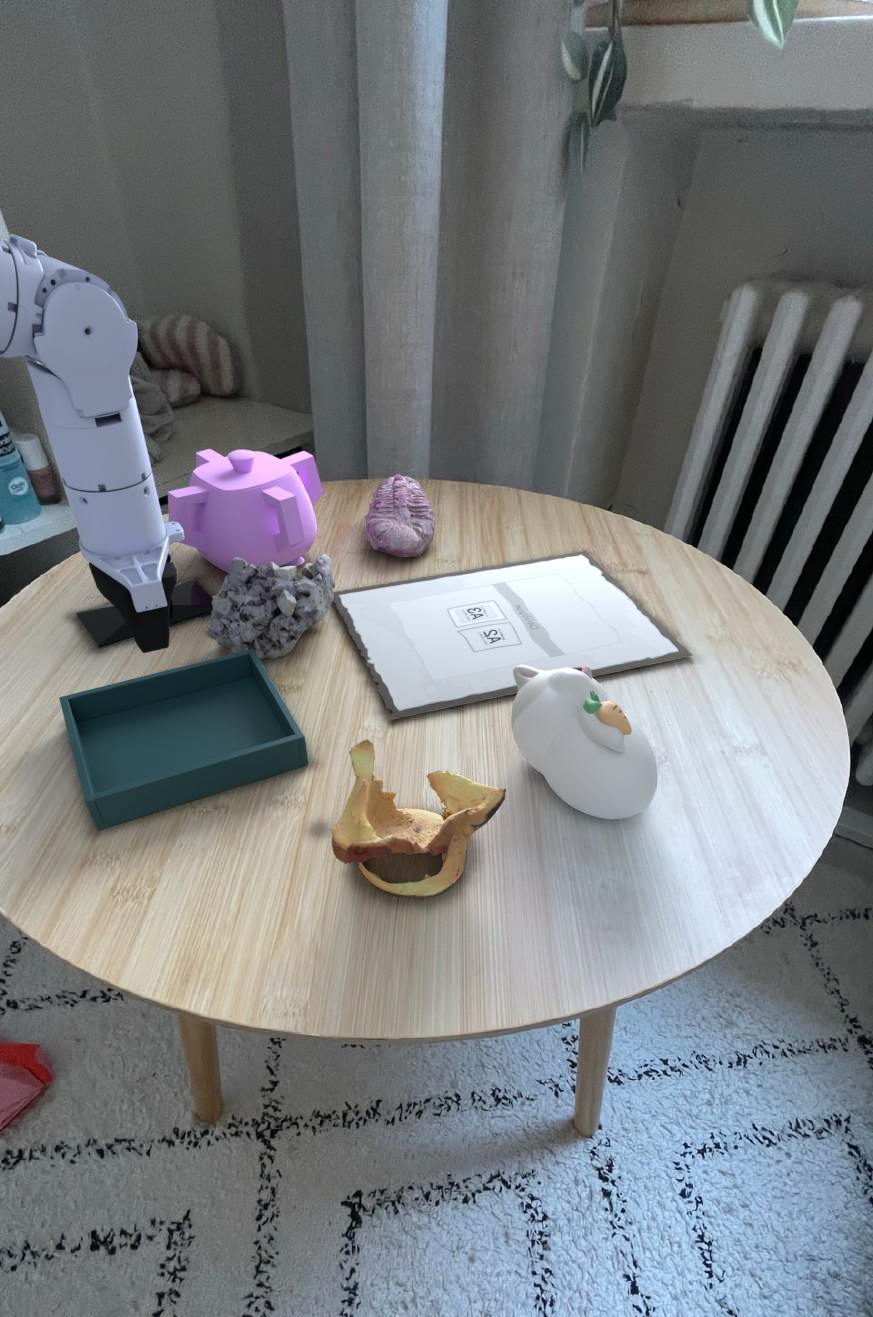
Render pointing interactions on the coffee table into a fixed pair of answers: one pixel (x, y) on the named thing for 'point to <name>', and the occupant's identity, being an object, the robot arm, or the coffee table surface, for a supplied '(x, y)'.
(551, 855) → the coffee table surface
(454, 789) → the bone
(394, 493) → the fossil
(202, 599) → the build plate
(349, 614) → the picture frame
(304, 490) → the pot
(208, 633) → the mineral specimen
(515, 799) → the coffee table surface
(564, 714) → the cat figurine
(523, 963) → the coffee table surface
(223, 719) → the tray
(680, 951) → the coffee table surface
